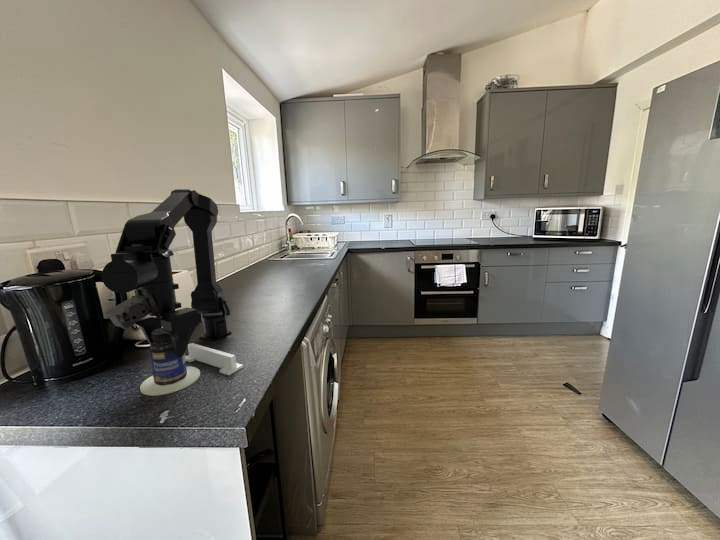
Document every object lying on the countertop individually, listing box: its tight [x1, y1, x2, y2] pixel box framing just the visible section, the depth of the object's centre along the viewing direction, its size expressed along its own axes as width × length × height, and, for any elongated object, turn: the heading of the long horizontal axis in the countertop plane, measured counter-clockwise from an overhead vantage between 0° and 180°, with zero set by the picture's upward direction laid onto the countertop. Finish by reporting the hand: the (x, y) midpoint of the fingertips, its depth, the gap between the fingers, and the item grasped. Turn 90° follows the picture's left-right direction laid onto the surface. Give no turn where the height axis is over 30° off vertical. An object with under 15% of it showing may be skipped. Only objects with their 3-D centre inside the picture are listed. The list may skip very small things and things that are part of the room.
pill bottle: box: [148, 327, 187, 385], centre depth 63 cm, size 6×6×11 cm
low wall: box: [185, 342, 244, 376], centre depth 71 cm, size 17×4×4 cm, turn 62°
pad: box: [139, 365, 201, 397], centre depth 64 cm, size 11×11×1 cm
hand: (167, 352), depth 63 cm, fingers open, 9 cm apart
